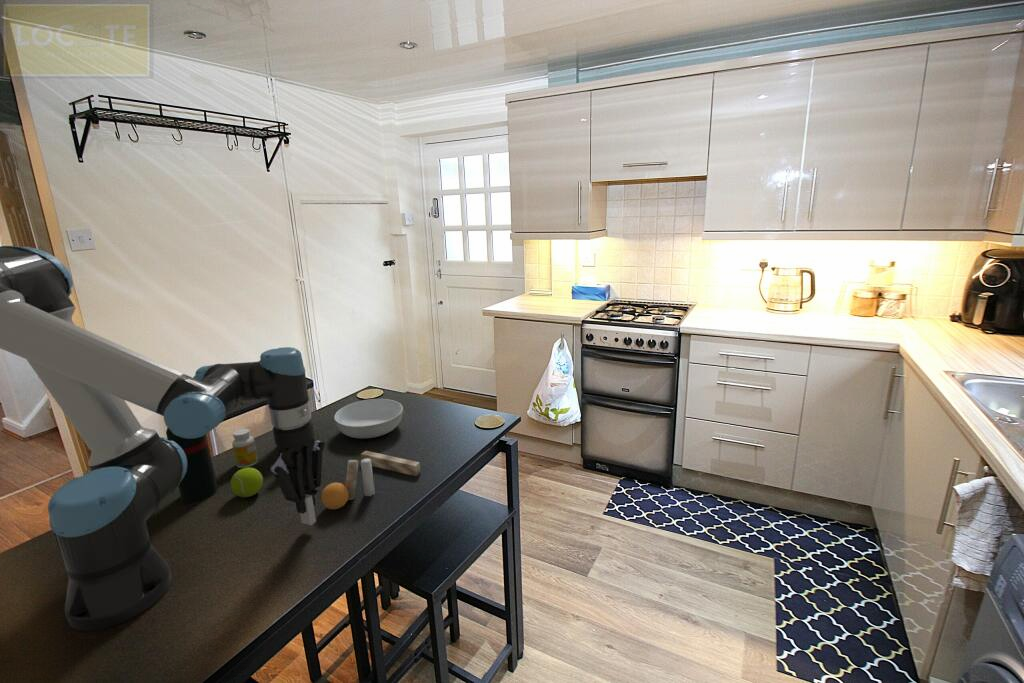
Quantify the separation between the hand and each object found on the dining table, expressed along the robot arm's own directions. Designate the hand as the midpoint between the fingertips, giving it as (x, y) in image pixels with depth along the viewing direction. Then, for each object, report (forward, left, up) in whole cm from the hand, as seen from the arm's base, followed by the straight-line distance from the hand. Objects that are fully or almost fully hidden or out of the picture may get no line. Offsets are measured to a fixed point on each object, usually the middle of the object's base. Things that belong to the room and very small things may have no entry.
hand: (308, 522), depth 105 cm
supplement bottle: (-7, +42, -2) cm, 43 cm away
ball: (+7, +5, +1) cm, 9 cm away
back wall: (+24, +14, -2) cm, 28 cm away
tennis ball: (-9, +24, -2) cm, 26 cm away
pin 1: (+11, +6, -2) cm, 12 cm away
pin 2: (+15, +6, -2) cm, 16 cm away
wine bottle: (-20, +32, -2) cm, 38 cm away
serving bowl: (+28, +40, -2) cm, 49 cm away
